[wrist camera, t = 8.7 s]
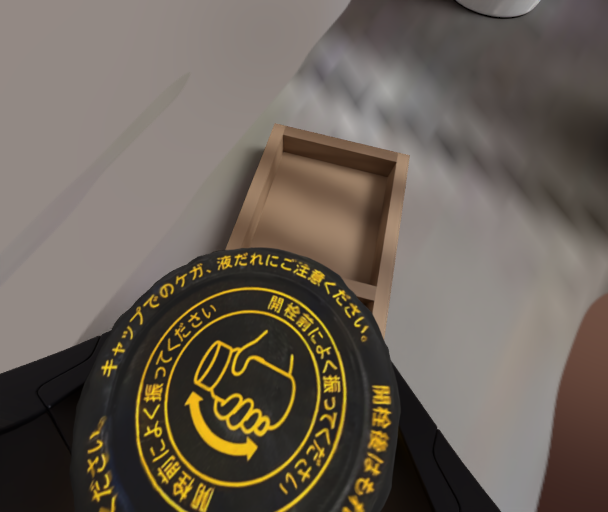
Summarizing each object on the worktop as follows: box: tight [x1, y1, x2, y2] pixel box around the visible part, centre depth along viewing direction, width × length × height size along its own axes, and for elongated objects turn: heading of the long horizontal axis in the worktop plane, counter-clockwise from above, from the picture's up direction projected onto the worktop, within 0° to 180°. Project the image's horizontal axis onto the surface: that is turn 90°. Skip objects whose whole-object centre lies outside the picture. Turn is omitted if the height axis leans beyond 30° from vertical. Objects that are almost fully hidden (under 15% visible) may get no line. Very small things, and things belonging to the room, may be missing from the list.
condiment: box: [69, 247, 401, 512], centre depth 9 cm, size 7×8×12 cm
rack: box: [225, 123, 410, 339], centre depth 16 cm, size 37×12×3 cm, turn 165°
